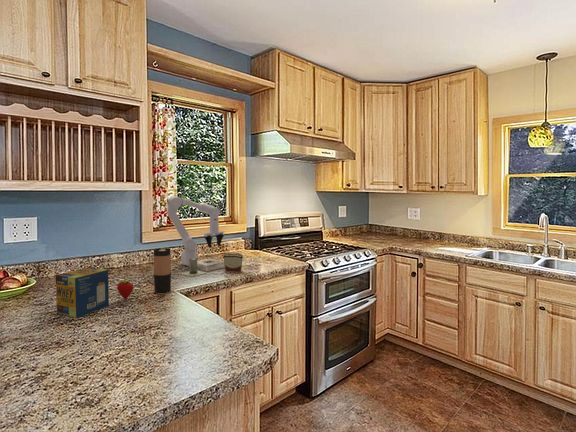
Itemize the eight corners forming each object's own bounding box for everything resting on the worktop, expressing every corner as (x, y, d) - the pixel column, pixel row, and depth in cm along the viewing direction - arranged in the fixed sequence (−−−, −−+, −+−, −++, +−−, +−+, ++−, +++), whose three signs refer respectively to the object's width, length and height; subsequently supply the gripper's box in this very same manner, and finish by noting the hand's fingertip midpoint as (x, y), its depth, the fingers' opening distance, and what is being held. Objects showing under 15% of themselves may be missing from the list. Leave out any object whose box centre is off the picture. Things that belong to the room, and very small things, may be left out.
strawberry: (124, 302, 150) (124, 279, 149) (113, 299, 154) (113, 277, 153) (136, 299, 155) (136, 276, 154) (126, 295, 159) (125, 274, 158)
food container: (245, 269, 211) (245, 253, 210) (243, 272, 205) (243, 255, 204) (225, 269, 212) (225, 252, 211) (222, 271, 206) (222, 254, 205)
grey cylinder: (187, 272, 200) (187, 259, 199) (194, 271, 203) (194, 257, 202) (192, 274, 197) (192, 260, 196) (199, 272, 200) (199, 259, 200)
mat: (180, 273, 199) (180, 273, 199) (195, 270, 207) (195, 269, 207) (191, 276, 193) (191, 276, 193) (206, 273, 201) (206, 272, 201)
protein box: (56, 314, 136) (54, 274, 134) (91, 302, 150) (90, 266, 149) (75, 318, 132) (74, 278, 131) (109, 305, 146) (108, 269, 145)
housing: (191, 267, 214) (191, 262, 213) (210, 263, 225) (210, 258, 224) (207, 271, 205) (206, 265, 205) (225, 267, 216) (225, 261, 216)
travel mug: (161, 294, 161) (160, 251, 160) (150, 291, 165) (149, 249, 164) (174, 290, 168) (174, 249, 166) (164, 288, 172) (163, 247, 170)
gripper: (209, 227, 220) (209, 248, 221) (226, 225, 231) (226, 245, 232) (202, 226, 224) (202, 247, 225) (219, 224, 235) (219, 244, 237)
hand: (214, 246), depth 229 cm, fingers open, 7 cm apart
